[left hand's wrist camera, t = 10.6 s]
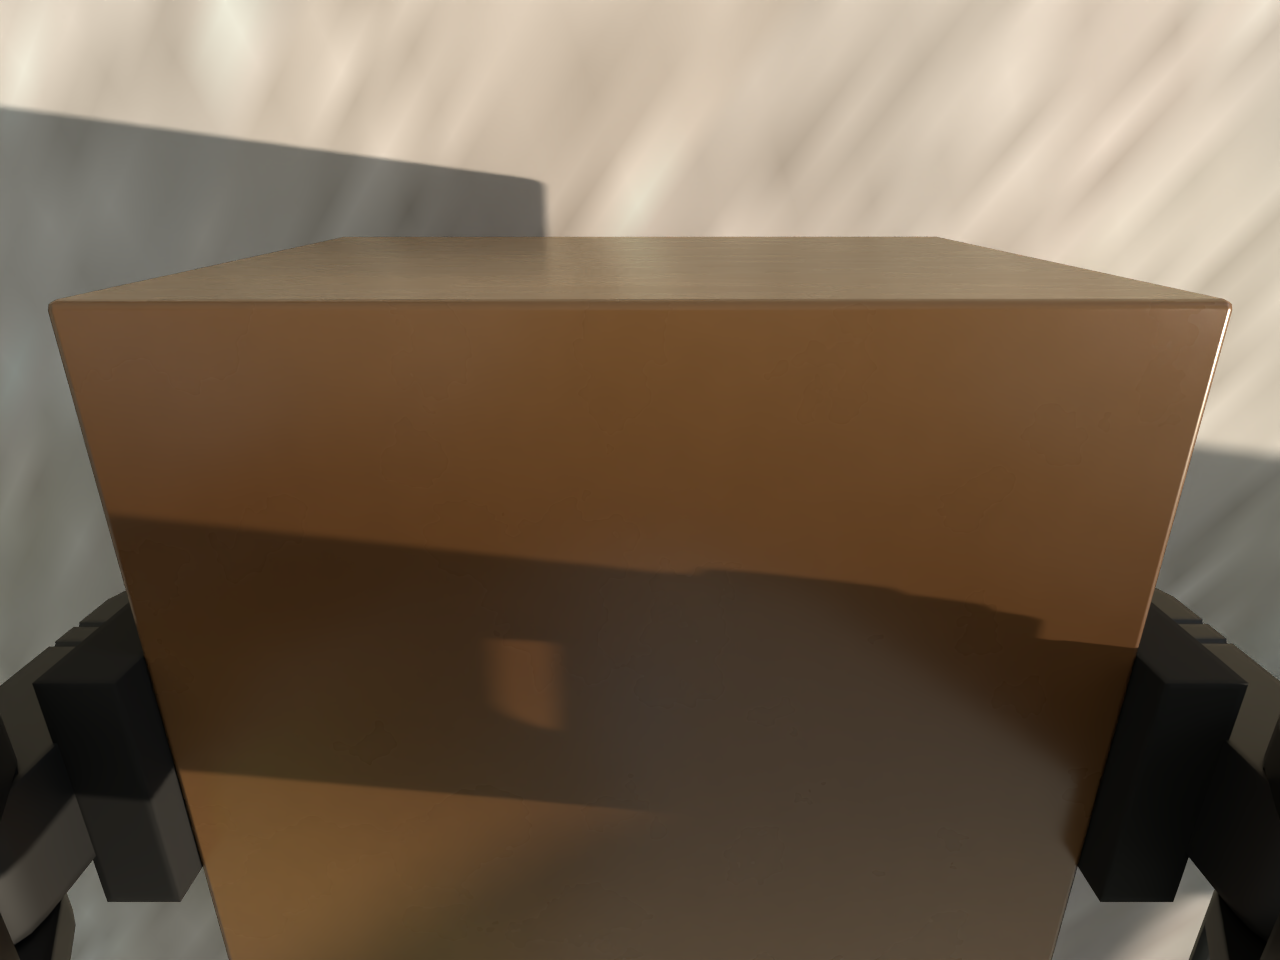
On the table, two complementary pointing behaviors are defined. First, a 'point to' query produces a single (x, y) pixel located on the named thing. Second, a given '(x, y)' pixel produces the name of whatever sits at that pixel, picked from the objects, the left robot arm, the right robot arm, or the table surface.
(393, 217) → the table surface
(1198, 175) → the table surface
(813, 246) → the long beam
